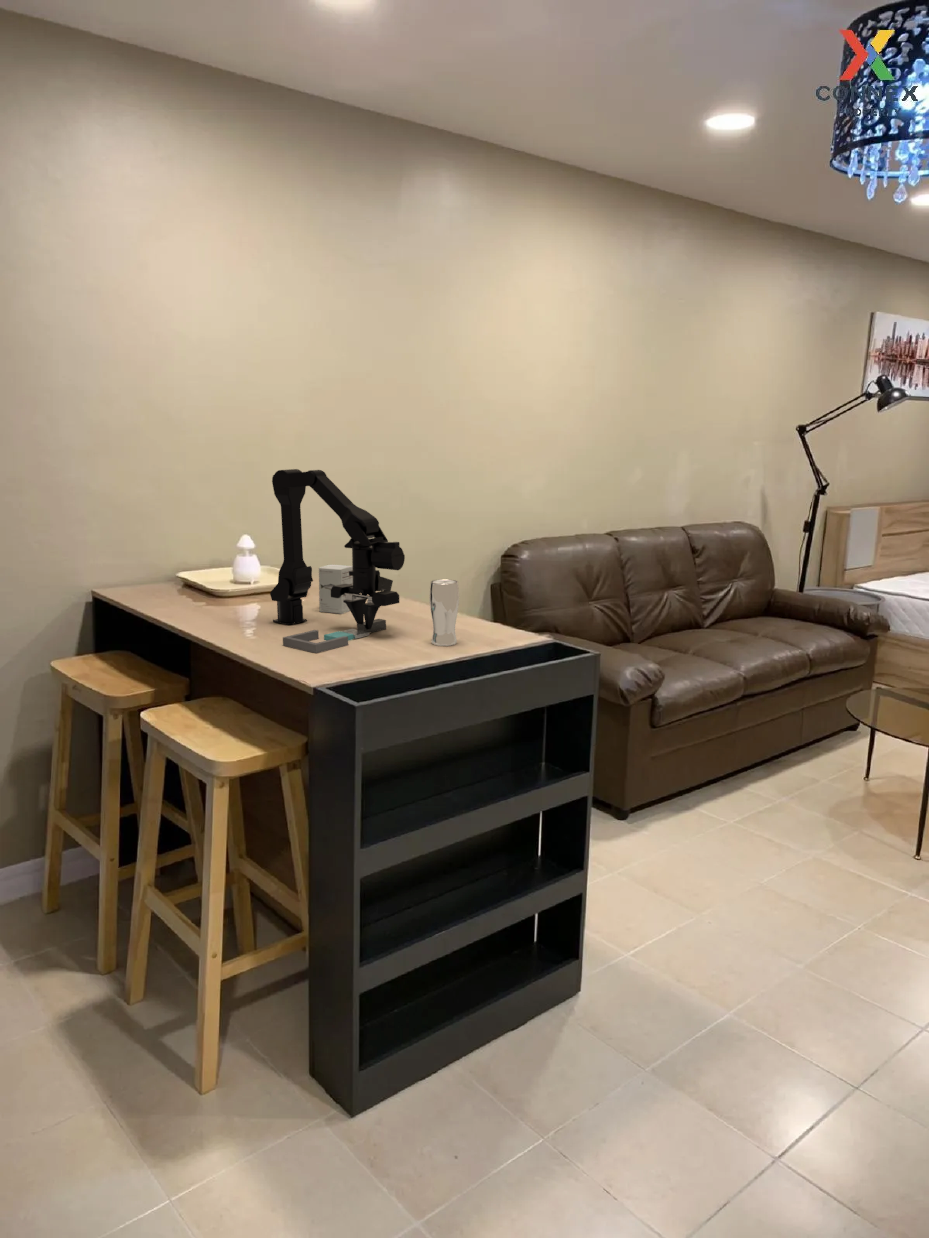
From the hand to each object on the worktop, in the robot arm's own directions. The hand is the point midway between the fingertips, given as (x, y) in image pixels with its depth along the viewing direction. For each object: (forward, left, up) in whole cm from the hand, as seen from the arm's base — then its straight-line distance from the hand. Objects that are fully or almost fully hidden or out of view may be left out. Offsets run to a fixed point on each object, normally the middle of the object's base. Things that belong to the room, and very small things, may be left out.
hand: (365, 628), depth 225 cm
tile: (0, -9, -1) cm, 9 cm away
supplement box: (-25, +14, -1) cm, 29 cm away
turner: (0, 0, -1) cm, 1 cm away
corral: (0, -16, -1) cm, 16 cm away
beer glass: (+22, +4, -1) cm, 23 cm away
